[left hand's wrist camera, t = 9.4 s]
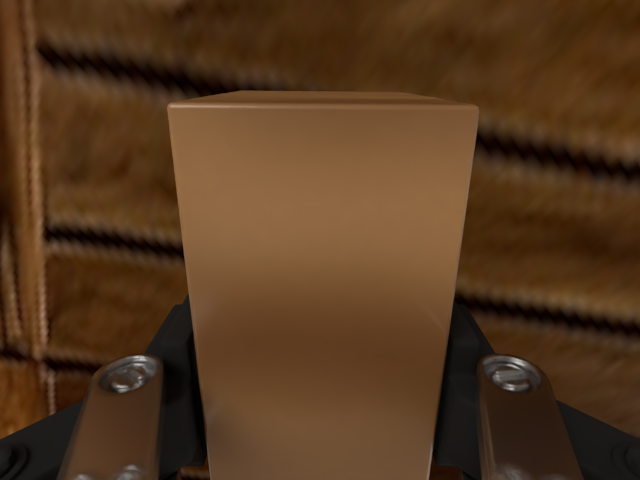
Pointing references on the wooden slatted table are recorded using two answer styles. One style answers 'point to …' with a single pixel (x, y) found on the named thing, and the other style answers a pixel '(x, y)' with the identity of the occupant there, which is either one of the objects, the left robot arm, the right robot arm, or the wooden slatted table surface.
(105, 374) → the left robot arm
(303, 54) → the wooden slatted table surface
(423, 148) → the bar
